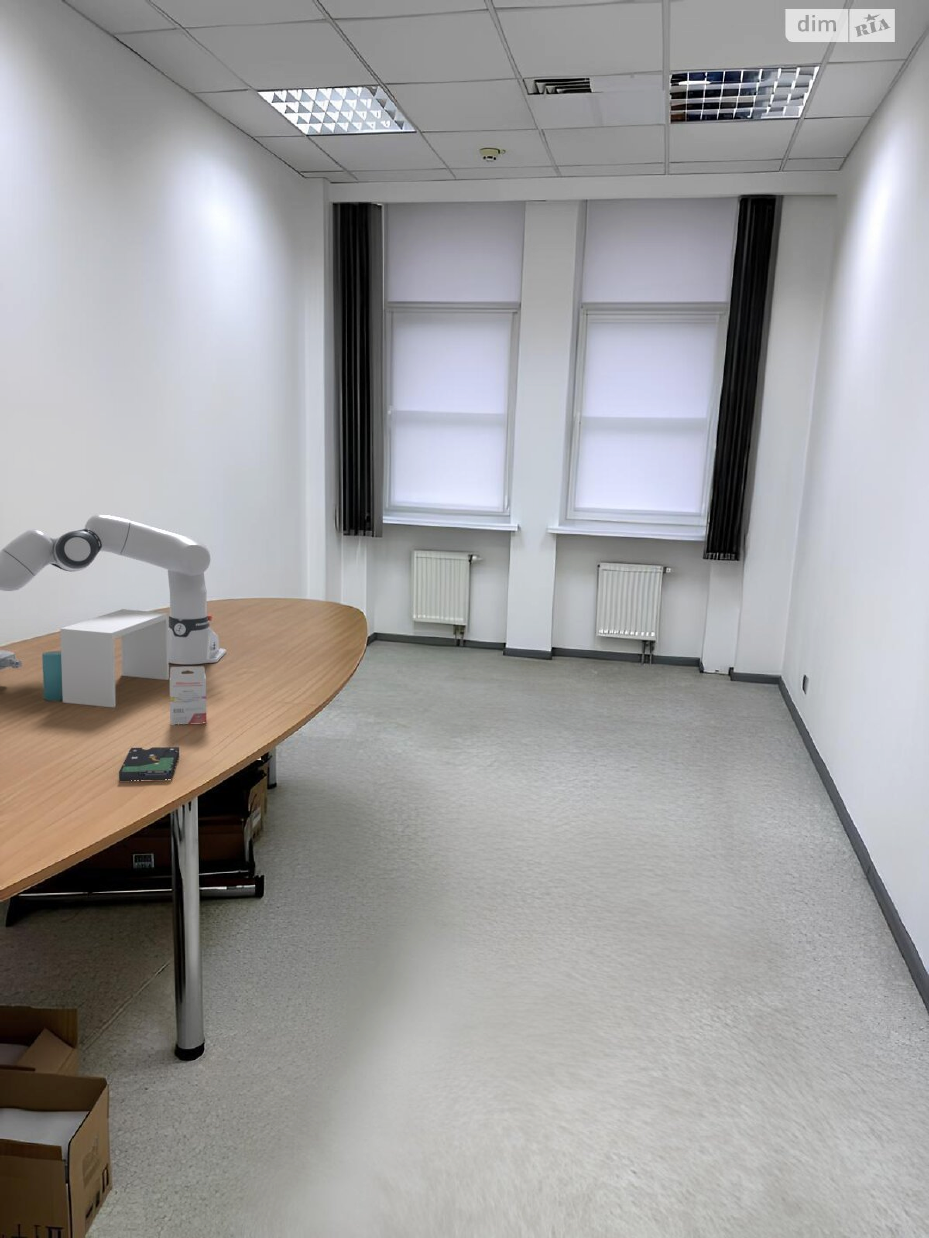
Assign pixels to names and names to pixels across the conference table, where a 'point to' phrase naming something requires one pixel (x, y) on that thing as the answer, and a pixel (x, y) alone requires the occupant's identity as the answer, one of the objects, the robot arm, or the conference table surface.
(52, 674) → the teal cylinder
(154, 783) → the conference table surface
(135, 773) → the disk drive
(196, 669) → the ink cartridge box
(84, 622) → the arch
